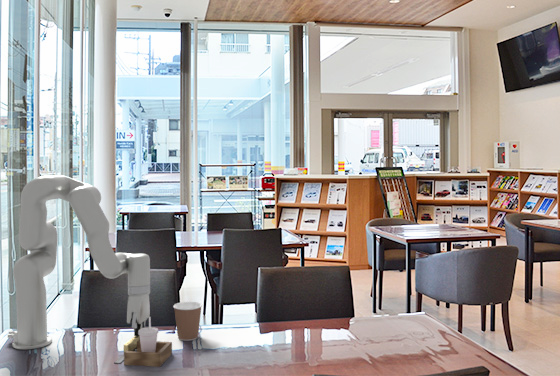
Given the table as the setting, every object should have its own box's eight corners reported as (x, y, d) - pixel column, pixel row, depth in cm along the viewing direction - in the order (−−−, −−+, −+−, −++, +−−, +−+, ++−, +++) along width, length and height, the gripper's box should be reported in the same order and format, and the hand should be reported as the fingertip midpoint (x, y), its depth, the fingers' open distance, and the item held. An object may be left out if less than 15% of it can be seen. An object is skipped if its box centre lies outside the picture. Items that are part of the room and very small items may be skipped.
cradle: (113, 364, 170) (112, 351, 170) (138, 342, 190) (138, 331, 190) (159, 366, 168) (159, 354, 168) (180, 344, 188) (180, 333, 188)
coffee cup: (207, 335, 199) (207, 302, 199) (193, 343, 189) (193, 310, 189) (182, 332, 202) (182, 300, 202) (168, 340, 193) (167, 307, 192)
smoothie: (153, 363, 171) (153, 320, 170) (134, 362, 172) (134, 319, 171) (161, 356, 177) (161, 314, 176) (143, 355, 178) (143, 313, 177)
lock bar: (123, 353, 178) (123, 345, 177) (135, 344, 187) (135, 335, 187) (128, 354, 177) (128, 345, 177) (139, 344, 187) (139, 335, 187)
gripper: (137, 284, 196) (137, 334, 197) (119, 294, 181) (120, 347, 182) (156, 284, 195) (157, 334, 196) (141, 294, 180) (141, 348, 181)
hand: (139, 341), depth 189 cm, fingers closed
